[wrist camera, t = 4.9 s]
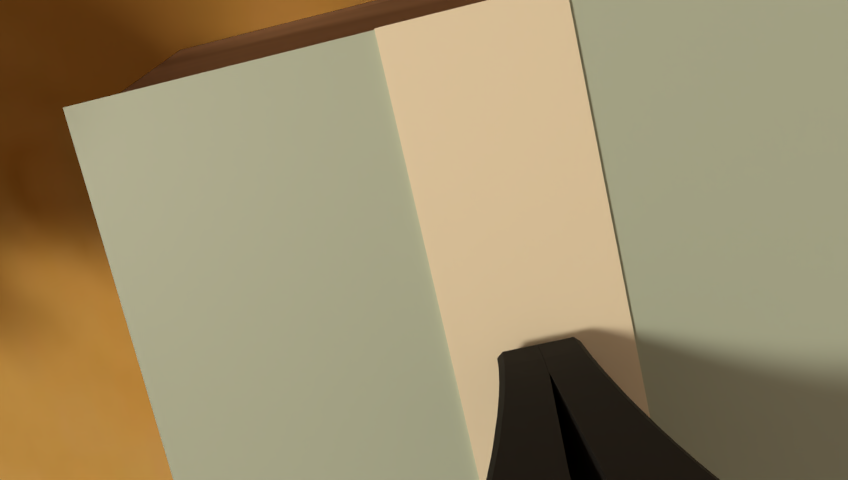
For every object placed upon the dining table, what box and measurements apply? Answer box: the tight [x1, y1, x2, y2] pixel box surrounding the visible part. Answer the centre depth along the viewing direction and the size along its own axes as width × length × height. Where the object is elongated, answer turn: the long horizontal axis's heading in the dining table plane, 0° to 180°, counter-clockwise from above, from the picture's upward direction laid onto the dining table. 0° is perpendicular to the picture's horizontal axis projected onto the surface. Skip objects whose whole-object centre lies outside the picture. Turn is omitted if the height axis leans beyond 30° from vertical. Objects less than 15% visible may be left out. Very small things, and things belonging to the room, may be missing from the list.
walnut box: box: [121, 0, 486, 93], centre depth 16 cm, size 10×14×5 cm
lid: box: [63, 0, 848, 480], centre depth 11 cm, size 10×14×1 cm
